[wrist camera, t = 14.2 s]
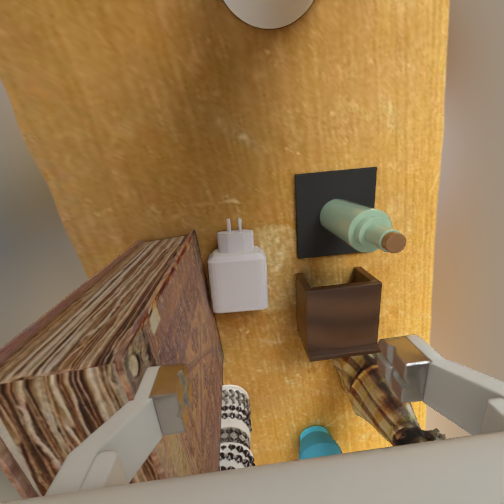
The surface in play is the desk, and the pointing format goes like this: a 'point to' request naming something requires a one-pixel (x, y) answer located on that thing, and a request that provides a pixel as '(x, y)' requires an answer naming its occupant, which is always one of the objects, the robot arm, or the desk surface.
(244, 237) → the charger
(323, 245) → the mat
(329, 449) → the perfume bottle
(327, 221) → the bottle
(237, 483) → the robot arm
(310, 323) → the shelf
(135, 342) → the book
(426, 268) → the desk surface
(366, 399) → the plush toy
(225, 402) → the decorative candle
